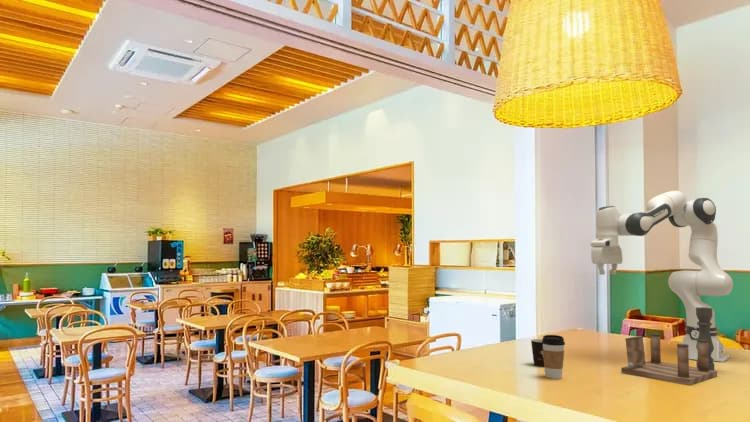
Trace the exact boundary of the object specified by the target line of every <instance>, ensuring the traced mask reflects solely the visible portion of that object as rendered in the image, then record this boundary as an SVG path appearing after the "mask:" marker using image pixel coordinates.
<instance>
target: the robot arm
mask: <svg viewBox="0 0 750 422" xmlns="http://www.w3.org/2000/svg"><path fill="white" fill-rule="evenodd" d="M716 208H717V207H716V205H715V203H714V202H713V200H712V199H710V198H709V197H699V198H695V199H691V200H688V199H687V196H686V195H685V193H684V192H682V191H679V190H670V191H666V192H664V193H663V192H662V193H660V194H658V195H656V196H654V197H652V198H650V199H649V200H648V202H647V204H646V212H641V211H640V212H633V213H623V212H622V211H620V210H619V209H618V208H617V207H616V206H615V205H606V206H601V207H600V208H598V209H597V212H596V219H595V222H596V223H595V226H596V229H597V232H596V238H595V239H593V240H591V241H590V247H591V250H590V251H591V252H590V253H591V255H590V256H591V258H590V259H591V263H592V264H594V265H597V269H598V271H599V273H598V274H599V275H601V276H603V275H605V274H606V271H605V269H604V267H605V265H610V266H611V269H610V275H617V269H618V265H621V264H622V263H623V251H622V248H621V246H620V245H619V236H621V237H622V236H623V237H624V236H631V237H632V236H636V237H643V236H646V235H647V234H648V233H649V232H650V231H651V230H652V228H653V227H654V226H656V225H658V224H659V223H661V222H663V221H665V220H666V219H668V222H669V223H670V224H671V225H672V226H673V227H676V228H685V227H690V230H691V234H690V238H689V246H688V258H689V261H691V263H693V264H695V265H697V266H699V267H701V269H700V270H685V269H684V270H677V271H673V272H671V273H670V275H669V277H668V282H667V284H668V286H669V289H670V290H671V291H672V292H673V293H675V294H676V295H677V297H678V298H679V299H681V301H682V303H683V305H684V308H685V315H686V316H685V318H686V325H685V328H684V329H685V333H686V334H685V335H684V336H683V337H682V342H681V344H687V345H689V347H688V349H689V360H695V361H698V360H697V357H698V350H697V348H696V344H697V340H698V336H699V326H698V324H697V322H699V320H698V318H697V316H696V307H705V308H712V319H711V321H710V323H712V325H711V327H710V336H711V339H712V343H713V346H714V350H713V352H712V353H711V354H712V355H711V357H712V358H713V360H714V361H713V362H727V361H728V359H730V355H729V354H725V352H724V343H723V342H722V341H721V340H720V338H719V337H718V332H719V327H716V318H715V317H716V316H715V315H716V313H715V310H714V308H713V307H711V305H709V304H707V303H705V302H703V300H701V297H700V296H706V297H708V296H709V297H722V296H728V295H729V294H731V292H732V290H733V288H734V282H733V281H734V280H733V279H732V277H731V276H730V275H729V274H728V273H727V272H726V271H724V270H723V269H722V267H721V266H720V265H719V262H718V243H719V242H718V241H719V240H718V237H719V236H718V228H717V225H716V223H715V220H716V213H717V209H716Z"/></svg>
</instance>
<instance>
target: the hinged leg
mask: <svg viewBox="0 0 750 422" xmlns="http://www.w3.org/2000/svg"><path fill="white" fill-rule="evenodd" d="M624 341H625V347H626V348H625V349H626V357H627V366H629V367H630V368H633V367H637V366H641V365H645V364H646V362H647V361H646V355H645V354H646V353H645V345H644V336H639V335H638V336H632V337H631V336H630V337H627V338H626V337H625V338H624Z"/></svg>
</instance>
